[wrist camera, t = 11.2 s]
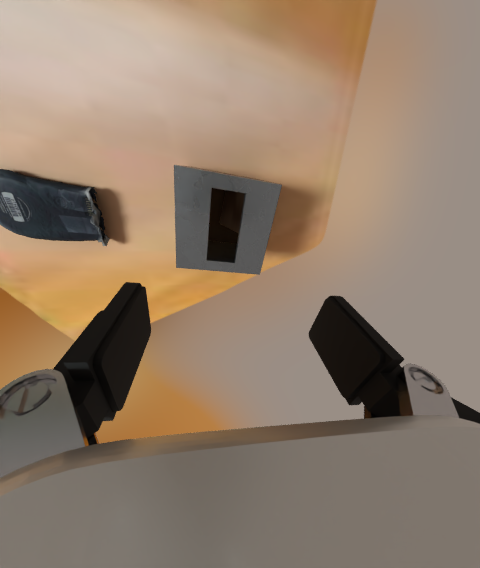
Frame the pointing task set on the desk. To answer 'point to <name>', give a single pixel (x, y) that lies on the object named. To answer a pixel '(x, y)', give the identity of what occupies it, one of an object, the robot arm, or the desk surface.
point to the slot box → (196, 213)
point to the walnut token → (232, 210)
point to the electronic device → (49, 209)
